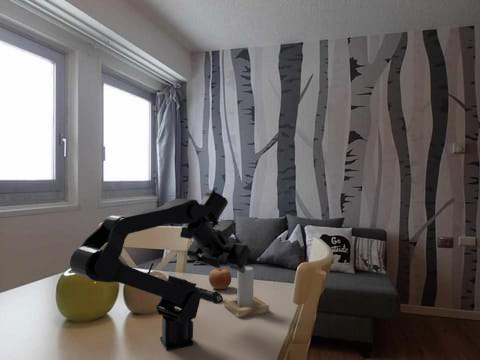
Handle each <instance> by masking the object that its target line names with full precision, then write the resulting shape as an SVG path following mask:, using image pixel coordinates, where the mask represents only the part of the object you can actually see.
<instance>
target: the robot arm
mask: <svg viewBox="0 0 480 360" xmlns="http://www.w3.org/2000/svg"><path fill="white" fill-rule="evenodd" d="M228 204H229V201H228V199H227V198H226V197H224V196H223V195H222V194H220V193H217V192H216V190H214V189H208V190H207V191H206V193H205V195H204V197H203V198H202V199H201V201H200V202H199V201H198V200H197V199H189V198H174V199H172V200H170V201H167V202H165V203H164V204H163V205H161V206H159V207H154V208H149V209H146V210H140V211H133V212H130V213H125V214H118V215H109V216H108V217H106V218H105V219H104V221H103V222H102V224H101V225H100V226H99V227H98V228H97V229H96V230H95V231H94V232H92V233H91V234H90V235H89V236H88V237H87V238H86V239H85V240H84V242H83V243H82V244H81V246H80V247H78V248H77V249H76V250H75V251H74V252H73V253H72V255H71V257H70V260H69V267H70V270H71V272H72V273H74V274H76V275H78V276H80V277H83V278H85V279H88V280H91V281H94V282H99V283H101V282H102V283H112V284H113V283H119V284H122V285H125V286H129V287H130V288H131V287H132V288H134V289H137V290H140V291H143V292H146V293H149V294H153V295H154V296H157V297H158V298H159V299H160V300H159V301H158V304H157V305H156V307H155V309H156V312H157V315H160V316H162V317H161V319H162V320H161V321H162V322H161V323H162V324H161V336H160V337H159V340H160V342H161V343H162V345H163V346H164V347H165V350H167V351H169V350H173V349H179V348H183V347H189V346H193V345H194V341H193V339H194V322H193V319H196V318H197V314H198V310H199V306H200V303H201V297H200V290H199V289H198V288H199V287H198V288H197V283H195V282H191V281H188V280H187V279H185V278H181V277H176V276H173V275H168V278H167V280H164V279H162V278H159V277H157V276H154V275H152V274H150V273H147V272H145V271H141V270H139V269H137V268H134V267H131V266H129V265H126V264H125V263H124V262H123V261H122V259H120V256H121V255H122V253H123V248H124V245H125V240H126V238H128V236H129V234H135V233H137V232H141V231H146V230H149V229H153V228H157V227H161V226H162V227H163V226H166V225H171V224H172V225H173V224H176V225H177V224H179V225H184V226H181V231H180V234H179V236H180V238H183V239H188V240H192V239H193V240H192V243H191V244H190V245H189V247H188V249H187V250H186V254H187V256H188V257H189V259H190V260H194V261H197V262H199V263H203V264H205V265H207V266H208V265H209V266H211V267H214V268H215V269H217V268H220V267H219V266H221V265H220V262H219V261H218V259H219V258H220V257H221V256H223V257H224V256H225V257H226V264H227V265H228V266H229V268H230V269H232V270H234V271H236V272H237V271H238V272H241V273H243V274H244V272H245V267H246V265H245V264H246V261H247V260H248V259H249V258H248V257H249V256H250V254H251V252H252V250H251V249H252V248H250V247H249V245H248V244H244V243H239V242H237V243H234V244H233V245H232V247H230V246H228V244H229V242H230V240H229V239H230V237H231V236H233V235H235V233H236V229H235V225H234V222H233V221H232V220H226V219H225V220H223V219H222V220H219V219H220V217H221V215H222V214H223V213H224V211H225V209H226V207H227V206H228ZM226 245H227V246H226ZM102 247H103V249H101V248H102Z"/></svg>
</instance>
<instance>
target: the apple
mask: <svg viewBox="0 0 480 360" xmlns="http://www.w3.org/2000/svg"><path fill="white" fill-rule="evenodd" d="M208 283H209V284H210V286H211V287H212V288H214V290H215V289H216V290H225V289H227V288H228V287H229V286H230V285H231V283H232V274H231V272H230V271H229V270H228V269H226V268H221V265H220V266H219V268H215V269H212V270H211V271H210V272H209V275H208Z"/></svg>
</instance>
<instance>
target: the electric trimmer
mask: <svg viewBox="0 0 480 360" xmlns="http://www.w3.org/2000/svg"><path fill="white" fill-rule="evenodd" d="M196 287H197V286H196ZM197 288H198V289H199V290H200V298H203V299H206V300H208V301H212V303H214V304H219V303H222V302H224V298H223V295H222V294H221V293H220V292H218V291H211V290H208V289H205V288H202V287H197Z"/></svg>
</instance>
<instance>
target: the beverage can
mask: <svg viewBox="0 0 480 360" xmlns="http://www.w3.org/2000/svg"><path fill="white" fill-rule="evenodd" d="M236 272H237V273H236V274H237V278H236V279H237V281H236V282H237V283H236V287H237V290H236V291H237V297H236V298H237V305H238V306H239V307H241V308H244V307H250V306H253V296H254V268H253V267H252V266H245V272H244V274H243V273H241V272H238V271H236Z"/></svg>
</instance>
